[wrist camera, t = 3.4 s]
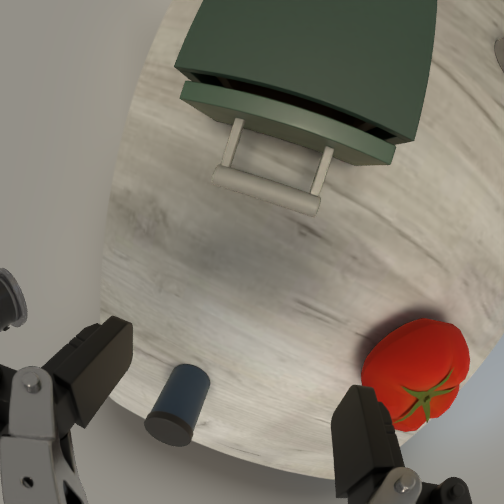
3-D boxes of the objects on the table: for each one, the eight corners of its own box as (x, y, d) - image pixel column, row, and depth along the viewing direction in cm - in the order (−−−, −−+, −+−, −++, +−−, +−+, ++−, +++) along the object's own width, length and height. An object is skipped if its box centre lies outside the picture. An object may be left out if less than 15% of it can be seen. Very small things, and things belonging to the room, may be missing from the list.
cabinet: (365, 151, 22) (414, 141, 12) (216, 103, 22) (173, 66, 12) (396, 26, 17) (438, -23, 8) (264, -15, 18) (252, -79, 8)
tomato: (380, 293, 25) (411, 341, 17) (464, 314, 25) (501, 354, 17) (333, 387, 29) (341, 443, 21) (415, 395, 29) (434, 441, 20)
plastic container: (169, 384, 32) (143, 434, 23) (174, 357, 30) (144, 410, 22) (206, 397, 32) (187, 452, 23) (215, 372, 30) (194, 430, 22)
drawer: (337, 218, 23) (362, 243, 15) (198, 172, 23) (156, 175, 15) (390, 39, 17) (425, -2, 9) (261, -1, 18) (249, -54, 10)
